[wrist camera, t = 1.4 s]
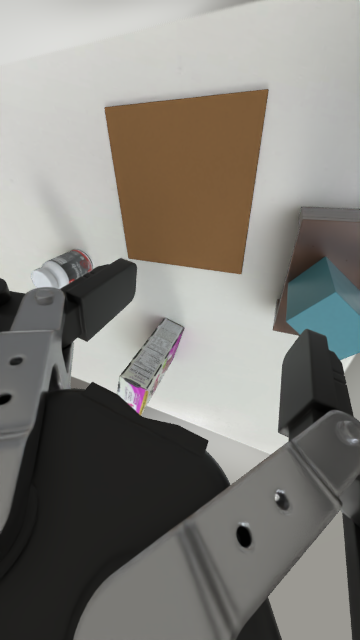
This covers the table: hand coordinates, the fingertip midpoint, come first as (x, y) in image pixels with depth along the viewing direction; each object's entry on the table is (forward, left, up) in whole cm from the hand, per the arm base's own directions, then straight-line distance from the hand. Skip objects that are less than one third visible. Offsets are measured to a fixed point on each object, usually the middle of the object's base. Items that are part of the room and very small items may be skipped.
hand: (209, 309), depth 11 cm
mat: (+9, -7, -25) cm, 27 cm away
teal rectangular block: (-3, +10, -18) cm, 21 cm away
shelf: (-3, +10, -25) cm, 27 cm away
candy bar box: (+27, +14, -25) cm, 39 cm away
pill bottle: (+34, -9, -25) cm, 43 cm away
